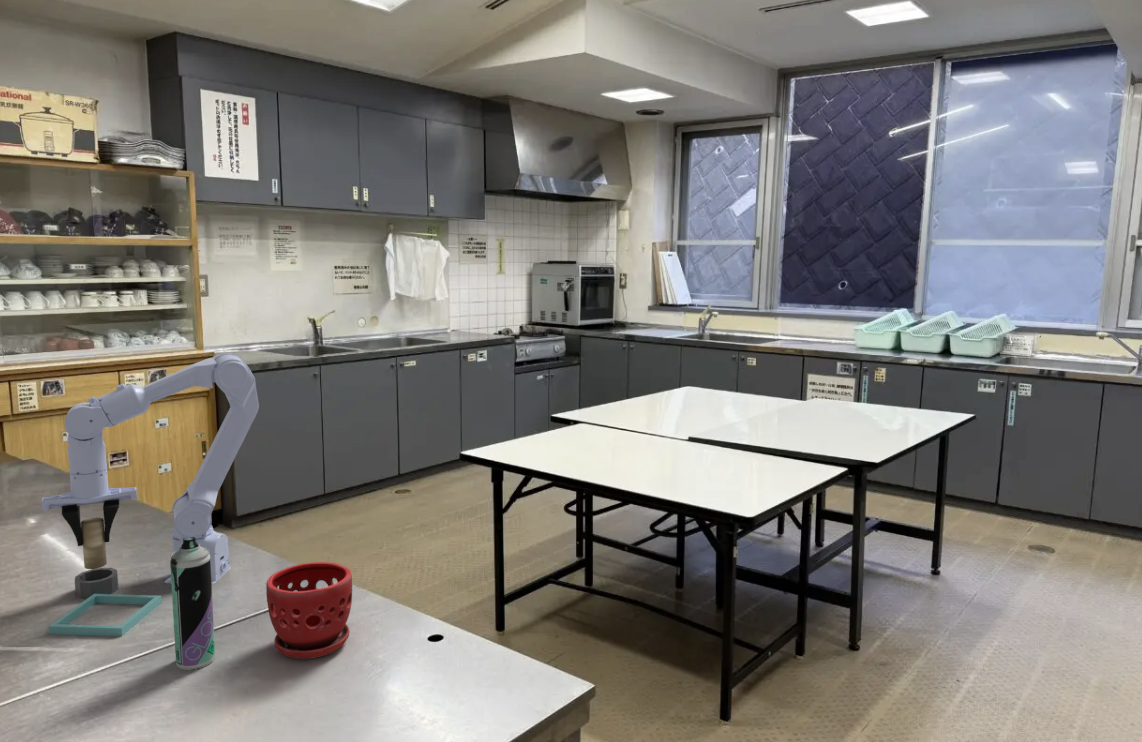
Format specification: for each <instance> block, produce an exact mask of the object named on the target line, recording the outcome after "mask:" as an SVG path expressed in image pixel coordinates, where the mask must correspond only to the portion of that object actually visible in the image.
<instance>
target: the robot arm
mask: <svg viewBox="0 0 1142 742" xmlns="http://www.w3.org/2000/svg"><path fill="white" fill-rule="evenodd" d="M213 383H215V384H216V385H217V387H218V388H219V389H220V390H221V391H222V393H224V394H225V397H226V399H227V401H228V403H229V407H230V408H229V409H228V411H227V412H226V415H225V417H224V419H223V420H222V423H221V425H220V426H219V429H218V430H217V433H216V435H215V436H214V439H213V442H212V443H211V444H210V447H209V449H208V451H207V453H206V455H205V457H204V459H203V461H202V463H201V465H200V468H198V471H197V473H196V474H195V477H194V478H193V480H192V481H191V483H190V484H188V486H187V488H186V490H185V491H184V493H182V495H181V496H178V498H176V500H175V501H174V502H173V504H172V507H171V510H172V517H173V520H174V522H173V528H174V529H173V530H172V531H171V533H170V534H171V549H172V550H171V551H172V554H173V553H174V552H176V551H178V550H179V548H180V546H182V544H183V539H188V538H191V537H195V539H196V542H197V544H200V547H203V548H207V549H208V550H209V554H210V562H211V582H212V585H214V584H216V582H217V581H219V580H220V579H221V578H222V577H223V576H224V575H226V574H227V572H229V571H230V570H231V568H232V567H231V565H230V550H229V549H230V548H229V547H230V546H229V538H228V536H227V535H226V534H225V533H221V532H217V531H215V530H214V528H213V525H212V513H213V510H214V508H215V506H216V503H217V496H218V494H219V491H220V488H221V486H222V485H223V483H224V480H225V478H226V476H227V474H228V472H229V471H230V468H231V466H232V464H233V462H234V460H235V458H236V456H237V454H238V452H239V450H240V448H241V446H242V444H243V442H244V441H245V438H246V436H247V434H248V432H249V430H250V429H251V426H252V424H253V422H254V421H255V419H256V416H257V414H258V412H259V409H260V404H259V397H258V392H257V385H256V377H255V376H254V374H253V372H252V371H251V368H250V367H249V366H248V365H247V363H246V362H244V360H243V359H242V358H241V357H240V356H238V355H237V354H235V353H230V352H225V353H221V354H219V355H218V356H216V357H215V358H214V357H209V358H206V359H203V360H199V361H198V362H195V363H192V364H190V365H189V366H185V367H183V368H182V369H178V370H177V371H174V372H172V373H170V374H168V375H166V376H163V377H162V378H160V379H156V380H155V381H153V382H151V383H148V384H147V385H144V386H142V385H138V384H134V383H130V384H128V385H126V384H124V383H121V384H118V385H116V389H115V390H113V391H110V392H108V393H105V394H103V395H101V396H99V397H95V396H93V395H92V396H91V397H89V398H88V400H87V401H88V402H80V403H76V404H74V405H73V406H72V407H71V408H70V409H68V411H67V413H66V416H65V419H64V428H65V431H66V432H67V443H68V446H67V456H68V457H67V458H68V470H69V480H70V481H69V482H70V484H69V485H70V492H67V493H63V494H57V495H52V496H45V497H42V498H41V512H46V511H50V510H54V509H61V516H62V517H63V519H64V520H65V521H66V523H67V524H68V525H69V527H70V528H71V530H72V532H73V534H74V537H75V539H76V543H77V547H81V546H82V547H83V542H82V530H81V508H80V507H81V506H87V505H95V504H103V506H102V511H103V512H102V513H103V519H104V532H105V534H104V539H105V543H109V542H110V538H111V537H110V534H111V530H112V526H113V522H114V520H115V517H116V515H117V513H118V510H119V508H120V502H121V501H137V500H138V492H137V491H138V490H137V486H133V487H113V488H112V487H110V488H109V481H108V480H109V477H108V467H107V466H108V465H107V464H108V463H107V462H108V461H107V451H106V450H107V449H106V443H105V441H104V431H103V429H104V428H112V427H114V426H117V425H119V424H122V423H124V422H127V421H128V420H131V419H133V418H136V417H139V416H140V415H143V414H145V413H147V412H148V409H149V407H150V404H152V403H153V402H156V401H159V400H161V399H164V398H166V397H169V396H172V395H174V394H177V393H180V392H182V391H185V390H188V389H190V388H193V387H199V388H206V389H207V388H208V389H213V387H214V386H213V385H214V384H213ZM163 582H164V583H165V584H171V576H169V577H168V578H167V579H165V581H163Z"/></svg>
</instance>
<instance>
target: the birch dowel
mask: <svg viewBox="0 0 1142 742" xmlns="http://www.w3.org/2000/svg"><path fill="white" fill-rule="evenodd" d="M80 522H81V530H82V542H83V546H82V552H83V553H82V554H83V555H82V556H83V566H84V569H86V570H91V569H97V568H104V567H105V566H107V563H108V562H107V559H108V558H107V550H106V549H107V547H106V542H105V539H104V534H105V524H104V517H88V518H85V519H83V520H80Z"/></svg>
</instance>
